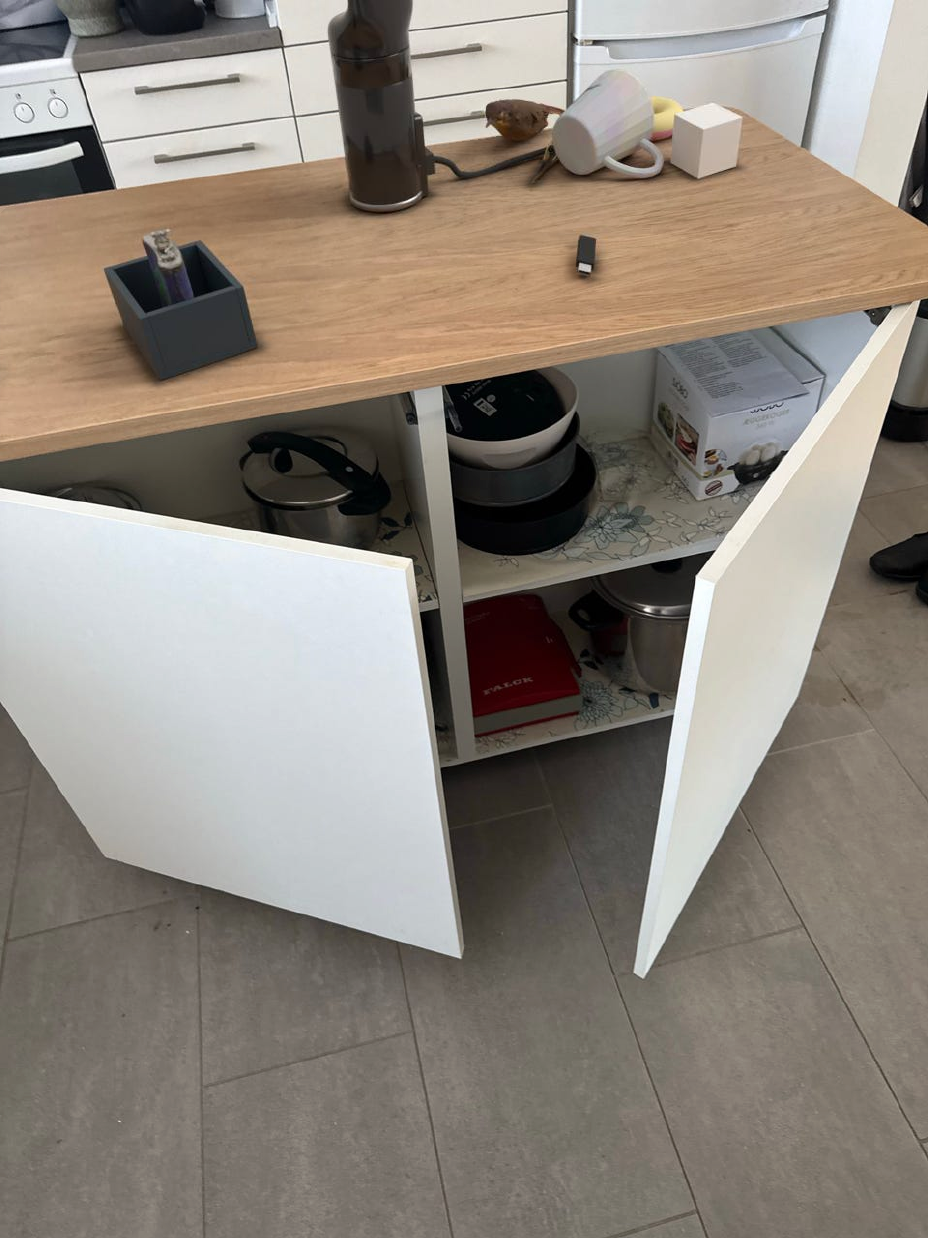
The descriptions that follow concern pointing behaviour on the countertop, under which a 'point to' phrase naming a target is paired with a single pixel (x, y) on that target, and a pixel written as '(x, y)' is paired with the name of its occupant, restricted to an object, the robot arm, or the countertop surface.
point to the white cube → (705, 140)
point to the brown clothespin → (543, 166)
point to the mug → (607, 127)
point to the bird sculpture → (519, 117)
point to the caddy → (183, 313)
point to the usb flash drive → (585, 254)
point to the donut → (664, 117)
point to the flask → (167, 268)
